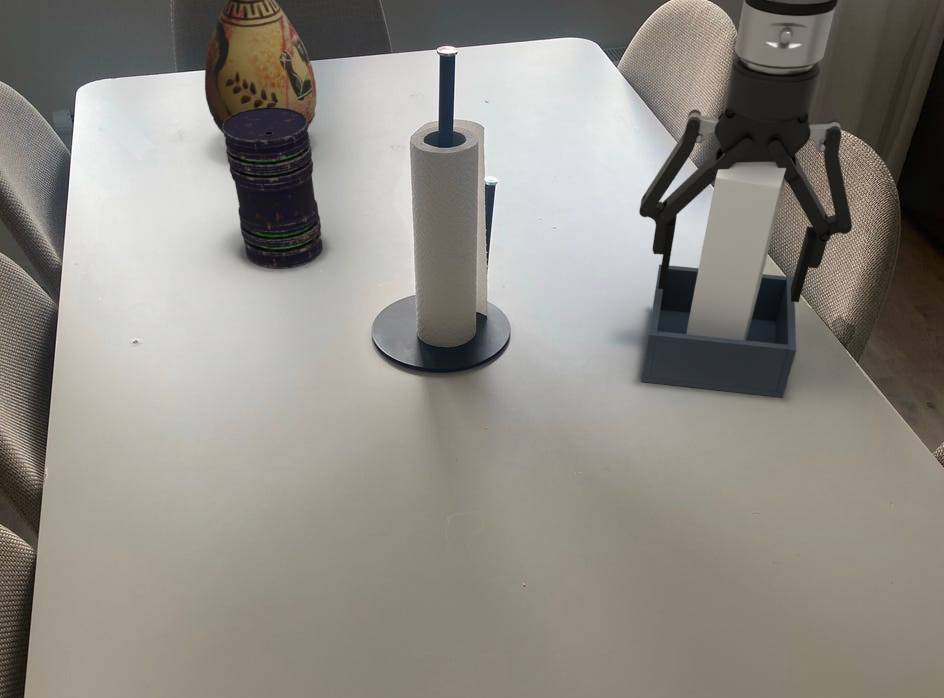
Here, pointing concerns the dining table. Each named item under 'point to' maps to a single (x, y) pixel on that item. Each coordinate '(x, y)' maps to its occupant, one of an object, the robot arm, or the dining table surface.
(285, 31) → the ceramic jug
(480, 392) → the dining table surface
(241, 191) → the dark blue cylinder
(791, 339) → the tote
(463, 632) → the dining table surface
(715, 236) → the tall white rectangular prism
